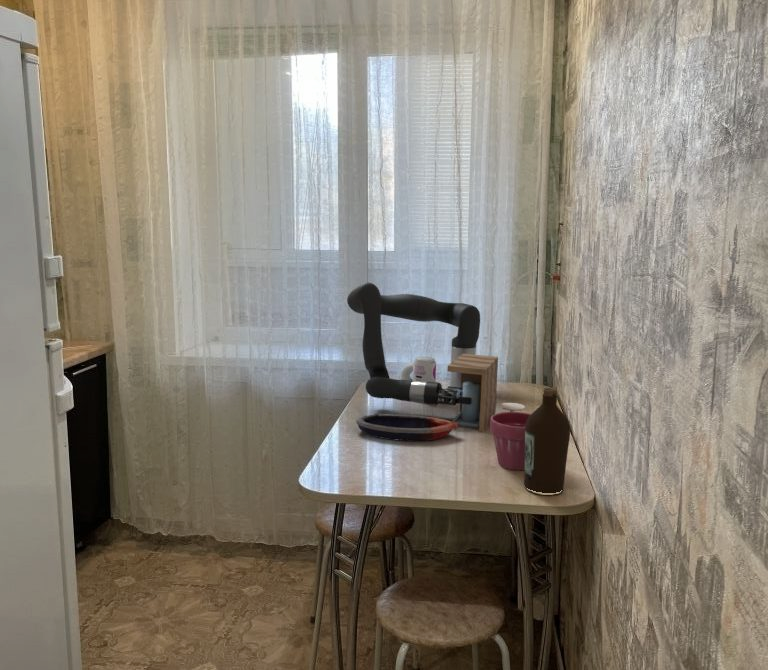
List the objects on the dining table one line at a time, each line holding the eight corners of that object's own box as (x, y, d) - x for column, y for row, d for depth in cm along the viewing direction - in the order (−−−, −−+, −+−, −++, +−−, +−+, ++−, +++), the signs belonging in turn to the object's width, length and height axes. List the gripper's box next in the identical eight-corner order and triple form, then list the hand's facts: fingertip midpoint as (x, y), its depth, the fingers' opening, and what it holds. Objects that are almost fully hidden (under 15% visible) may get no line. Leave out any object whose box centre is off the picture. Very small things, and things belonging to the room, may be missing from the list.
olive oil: (559, 480, 173) (566, 384, 169) (570, 497, 163) (578, 396, 159) (517, 479, 173) (523, 383, 169) (526, 496, 163) (532, 394, 159)
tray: (461, 414, 230) (461, 410, 230) (488, 417, 227) (488, 413, 227) (451, 425, 217) (451, 422, 217) (479, 429, 214) (479, 425, 214)
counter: (460, 410, 235) (462, 353, 231) (495, 414, 231) (498, 356, 227) (445, 427, 215) (447, 365, 212) (482, 432, 211) (486, 369, 208)
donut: (427, 388, 264) (428, 362, 262) (425, 390, 260) (426, 364, 259) (401, 386, 266) (402, 361, 264) (399, 388, 263) (400, 362, 261)
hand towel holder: (499, 421, 210) (484, 402, 230) (498, 434, 211) (483, 415, 231) (553, 420, 211) (533, 402, 231) (552, 434, 212) (533, 415, 232)
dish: (360, 424, 217) (361, 409, 216) (458, 431, 213) (459, 415, 212) (351, 439, 202) (351, 423, 201) (456, 447, 197) (456, 430, 197)
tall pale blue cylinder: (463, 416, 225) (465, 380, 223) (480, 418, 224) (482, 382, 222) (459, 420, 220) (461, 384, 218) (476, 423, 218) (478, 386, 216)
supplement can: (435, 397, 251) (436, 357, 249) (434, 403, 243) (436, 361, 241) (412, 395, 252) (414, 356, 249) (411, 401, 244) (412, 360, 241)
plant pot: (478, 464, 183) (480, 418, 181) (505, 451, 194) (507, 408, 192) (525, 478, 174) (528, 430, 172) (551, 464, 185) (554, 418, 183)
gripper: (420, 386, 218) (470, 391, 213) (431, 376, 232) (479, 381, 226) (419, 409, 220) (469, 415, 214) (430, 398, 233) (478, 403, 228)
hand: (474, 397), depth 220 cm, fingers open, 8 cm apart
